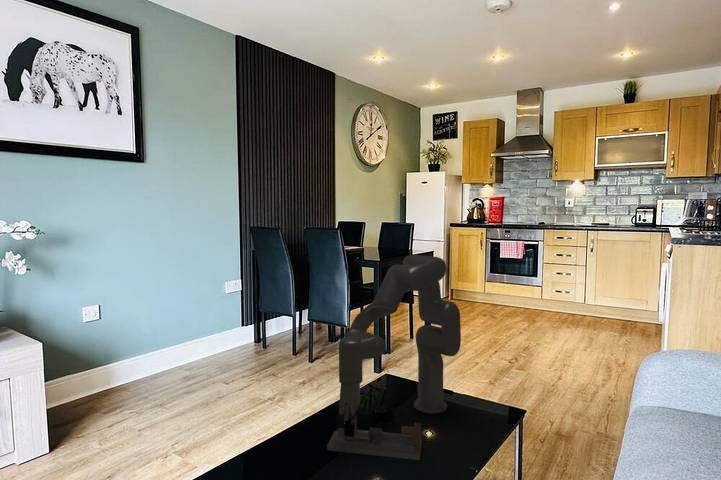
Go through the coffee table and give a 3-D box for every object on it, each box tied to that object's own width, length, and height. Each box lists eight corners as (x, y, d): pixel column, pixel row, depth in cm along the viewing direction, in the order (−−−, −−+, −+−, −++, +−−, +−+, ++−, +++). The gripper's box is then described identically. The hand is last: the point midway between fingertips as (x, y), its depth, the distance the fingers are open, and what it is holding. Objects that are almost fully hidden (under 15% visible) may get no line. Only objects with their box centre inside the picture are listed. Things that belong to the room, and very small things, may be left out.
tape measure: (393, 421, 158) (393, 411, 157) (375, 424, 156) (376, 414, 155) (387, 413, 164) (387, 403, 164) (369, 416, 162) (369, 406, 162)
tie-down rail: (335, 434, 148) (335, 410, 148) (421, 443, 142) (421, 417, 142) (327, 450, 138) (326, 423, 138) (419, 460, 133) (419, 433, 132)
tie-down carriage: (348, 435, 145) (348, 414, 144) (382, 438, 142) (382, 417, 142) (344, 442, 140) (344, 421, 139) (380, 446, 138) (380, 424, 137)
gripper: (345, 366, 150) (345, 419, 151) (332, 385, 133) (332, 443, 134) (367, 368, 148) (367, 421, 149) (356, 387, 132) (356, 446, 133)
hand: (351, 431), depth 142 cm, fingers closed on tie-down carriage, 4 cm apart
